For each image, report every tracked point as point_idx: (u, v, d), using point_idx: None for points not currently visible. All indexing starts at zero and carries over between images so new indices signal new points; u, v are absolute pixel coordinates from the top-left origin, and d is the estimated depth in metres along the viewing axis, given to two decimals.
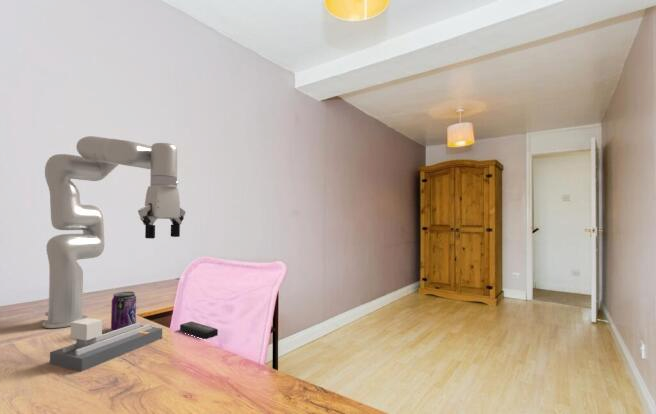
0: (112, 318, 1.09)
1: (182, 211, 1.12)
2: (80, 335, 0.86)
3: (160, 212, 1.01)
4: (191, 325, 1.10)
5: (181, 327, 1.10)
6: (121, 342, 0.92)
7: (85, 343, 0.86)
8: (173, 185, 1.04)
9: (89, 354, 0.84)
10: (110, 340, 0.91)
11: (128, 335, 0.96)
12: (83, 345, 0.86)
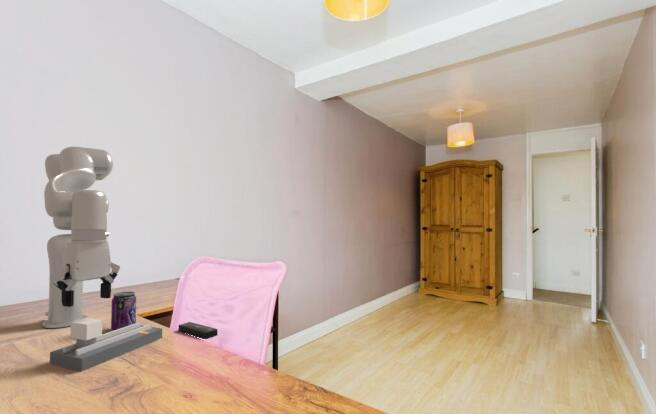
0: (112, 318, 1.09)
1: (115, 266, 0.95)
2: (80, 335, 0.86)
3: (81, 274, 0.85)
4: (190, 325, 1.10)
5: (179, 327, 1.10)
6: (121, 342, 0.92)
7: (85, 343, 0.86)
8: (99, 240, 0.88)
9: (89, 354, 0.84)
10: (110, 340, 0.91)
11: (128, 335, 0.96)
12: (83, 345, 0.86)
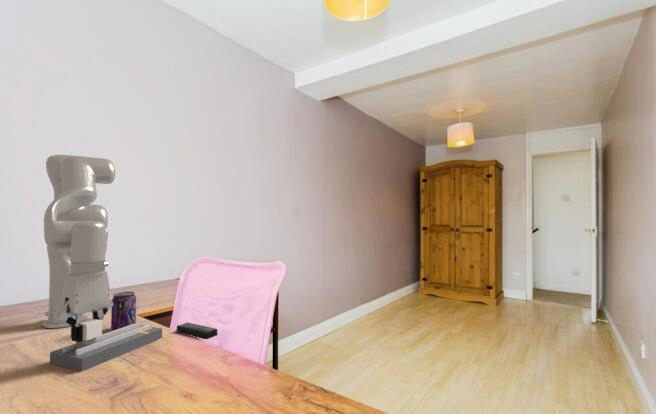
0: (112, 318, 1.09)
1: (109, 302, 0.94)
2: None
3: (80, 307, 0.85)
4: (189, 326, 1.09)
5: (178, 328, 1.09)
6: (121, 342, 0.92)
7: (85, 343, 0.86)
8: (98, 272, 0.88)
9: (89, 354, 0.84)
10: (110, 340, 0.91)
11: (128, 335, 0.96)
12: (83, 345, 0.86)
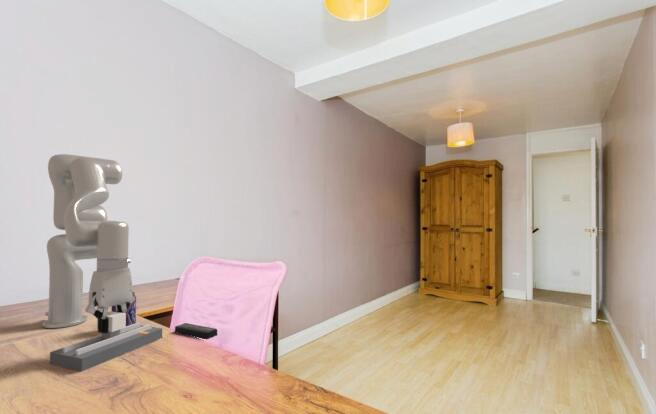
0: None
1: (132, 297, 1.00)
2: None
3: (106, 301, 0.91)
4: (187, 326, 1.09)
5: (176, 329, 1.09)
6: (121, 342, 0.92)
7: (111, 335, 0.93)
8: (122, 268, 0.94)
9: (89, 354, 0.84)
10: (110, 340, 0.91)
11: (128, 335, 0.96)
12: (109, 336, 0.93)
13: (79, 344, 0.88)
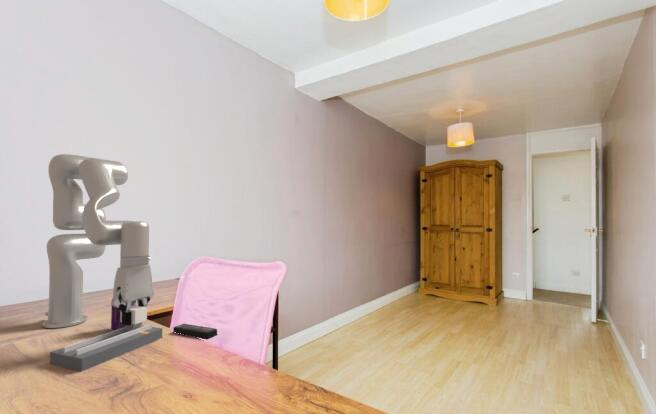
0: (112, 318, 1.09)
1: (151, 292, 1.07)
2: None
3: (129, 295, 0.98)
4: (186, 327, 1.08)
5: (175, 329, 1.08)
6: (121, 342, 0.92)
7: (134, 327, 0.99)
8: (144, 265, 1.01)
9: (89, 354, 0.84)
10: (110, 340, 0.91)
11: (128, 335, 0.96)
12: (131, 328, 0.99)
13: (79, 344, 0.88)
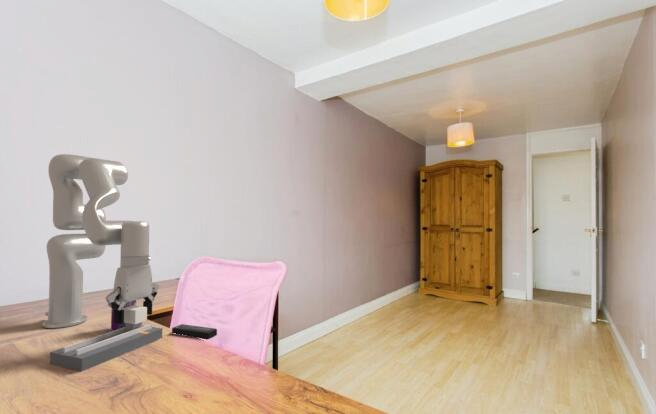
0: (112, 318, 1.09)
1: (155, 286, 1.08)
2: (129, 319, 0.99)
3: (130, 295, 0.98)
4: (185, 327, 1.08)
5: (173, 330, 1.07)
6: (121, 342, 0.92)
7: (134, 327, 1.00)
8: (144, 265, 1.01)
9: (89, 354, 0.84)
10: (110, 340, 0.91)
11: (128, 335, 0.96)
12: (132, 328, 0.99)
13: (79, 344, 0.88)
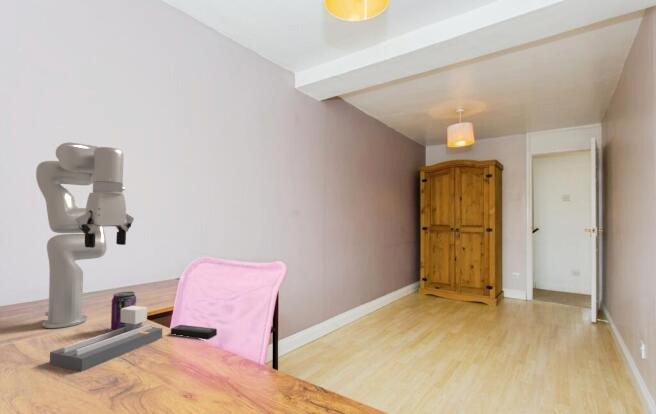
0: (112, 318, 1.09)
1: (130, 218, 1.07)
2: (129, 319, 0.99)
3: (101, 220, 0.97)
4: (184, 328, 1.07)
5: (172, 331, 1.07)
6: (121, 342, 0.92)
7: (134, 327, 1.00)
8: (117, 191, 1.00)
9: (89, 354, 0.84)
10: (110, 340, 0.91)
11: (128, 335, 0.96)
12: (132, 328, 0.99)
13: (79, 344, 0.88)
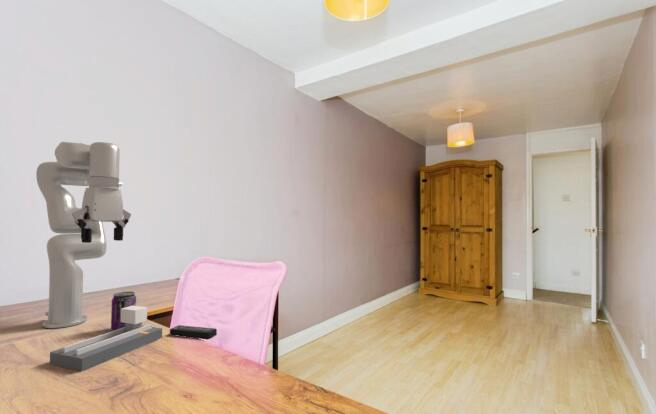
0: (112, 318, 1.09)
1: (127, 213, 1.07)
2: (129, 319, 0.99)
3: (98, 215, 0.96)
4: (183, 328, 1.07)
5: (171, 331, 1.06)
6: (121, 342, 0.92)
7: (134, 327, 1.00)
8: (113, 186, 0.99)
9: (89, 354, 0.84)
10: (110, 340, 0.91)
11: (128, 335, 0.96)
12: (132, 328, 0.99)
13: (79, 344, 0.88)
